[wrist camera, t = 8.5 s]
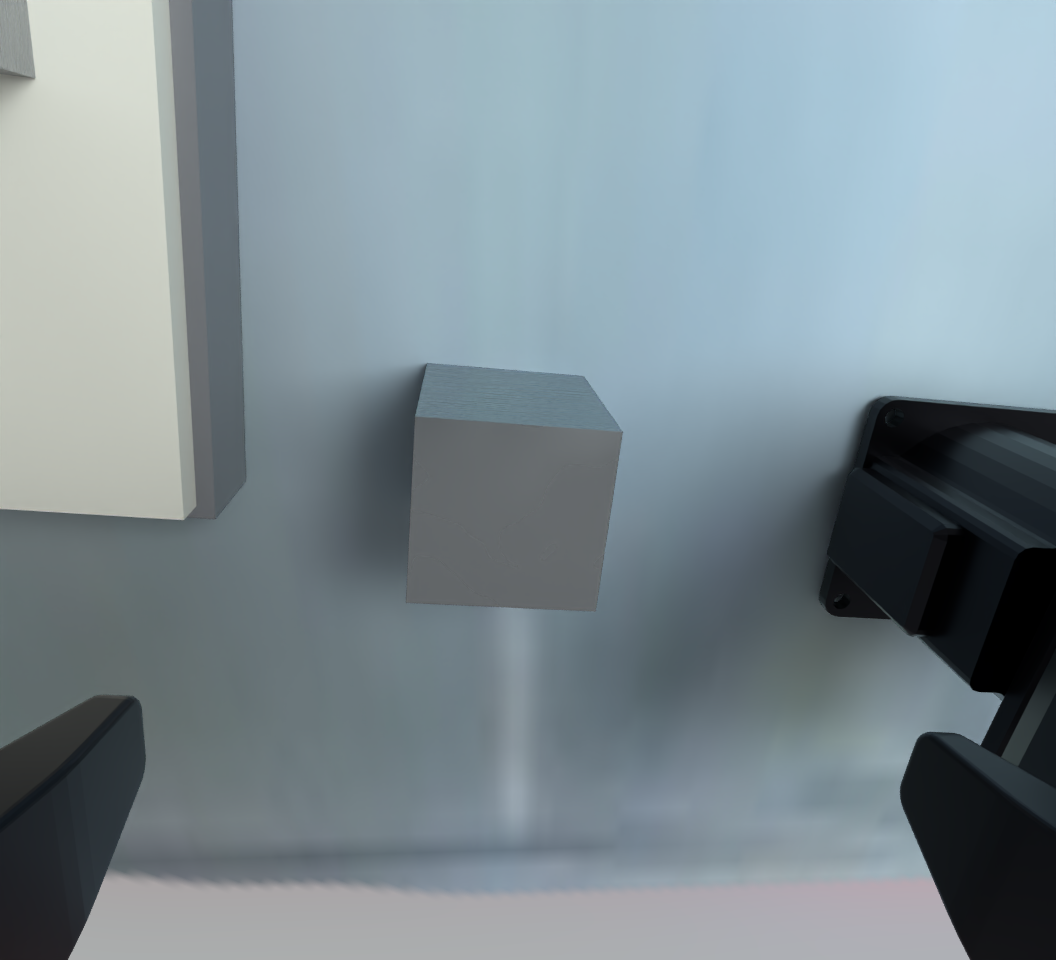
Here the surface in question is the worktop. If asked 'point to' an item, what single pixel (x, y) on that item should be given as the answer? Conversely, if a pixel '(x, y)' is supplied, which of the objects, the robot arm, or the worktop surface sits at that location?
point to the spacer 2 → (509, 489)
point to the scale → (121, 263)
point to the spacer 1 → (15, 39)
